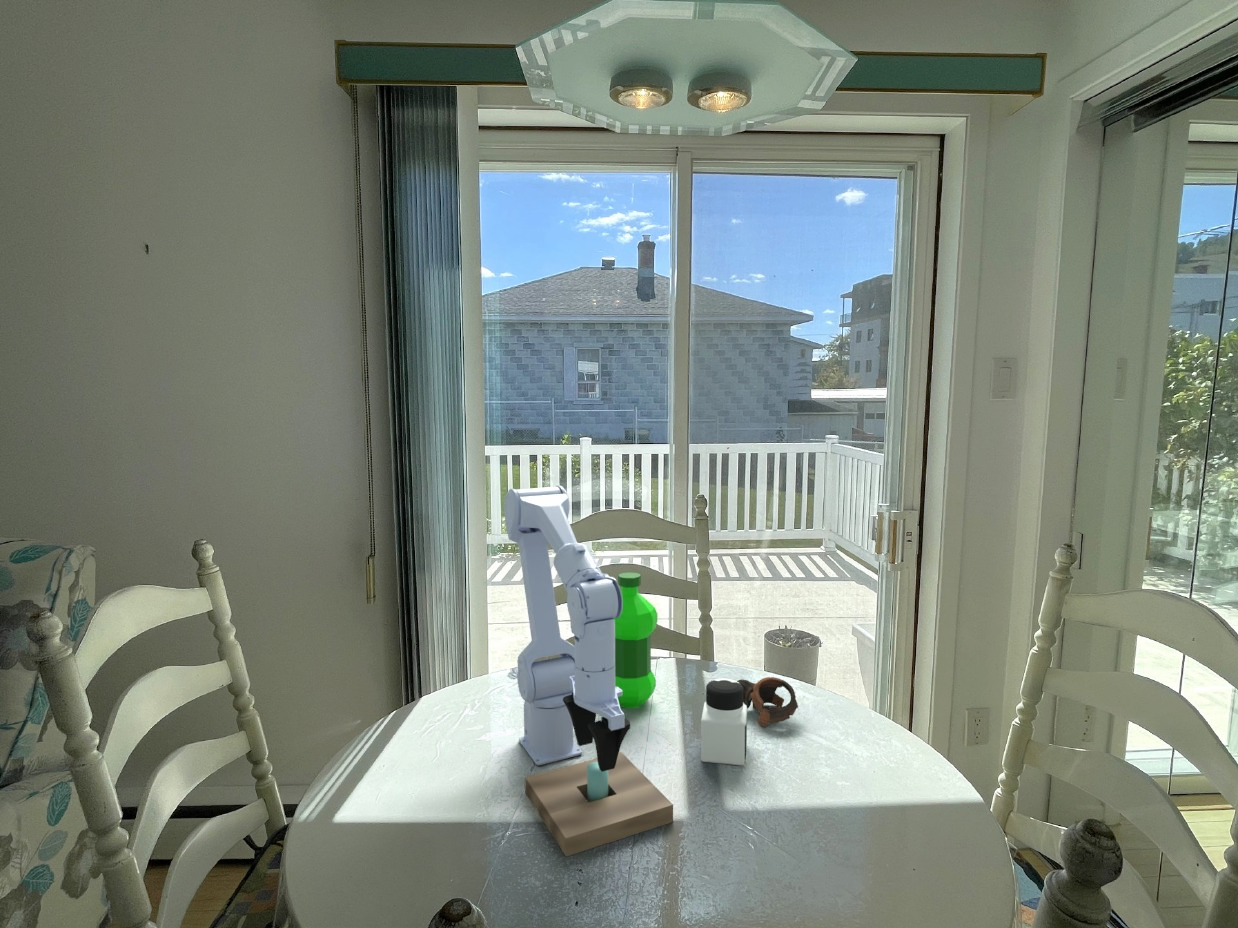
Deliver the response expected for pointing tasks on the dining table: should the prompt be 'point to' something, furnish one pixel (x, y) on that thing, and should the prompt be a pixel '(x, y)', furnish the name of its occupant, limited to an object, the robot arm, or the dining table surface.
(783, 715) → the brown jagged ring
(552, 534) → the robot arm
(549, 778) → the socket board
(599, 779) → the peg
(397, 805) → the dining table surface
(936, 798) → the dining table surface
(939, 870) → the dining table surface
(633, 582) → the plastic bottle
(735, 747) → the medicine bottle
